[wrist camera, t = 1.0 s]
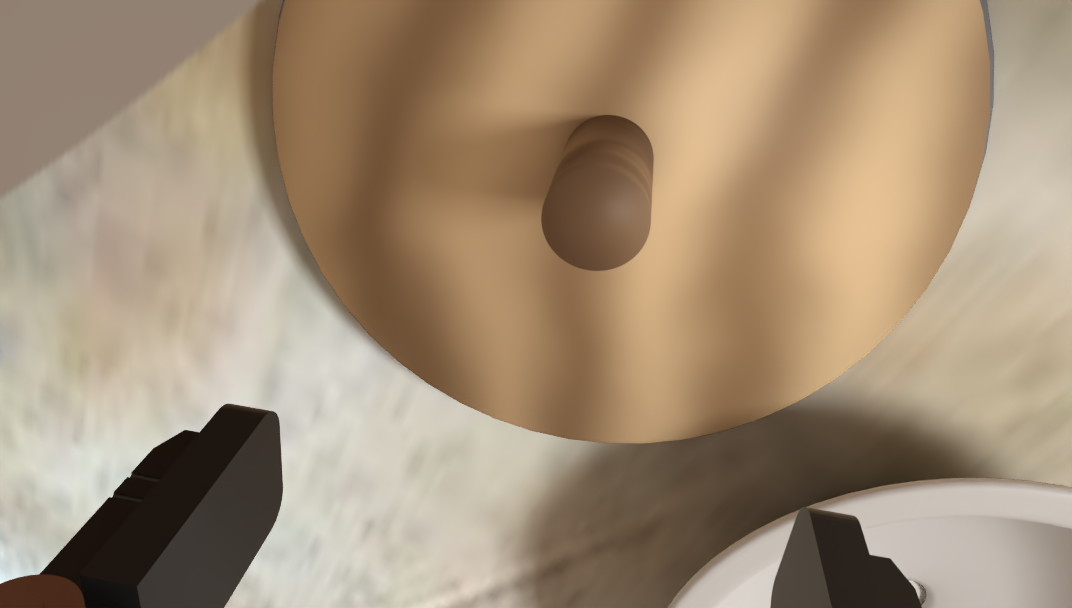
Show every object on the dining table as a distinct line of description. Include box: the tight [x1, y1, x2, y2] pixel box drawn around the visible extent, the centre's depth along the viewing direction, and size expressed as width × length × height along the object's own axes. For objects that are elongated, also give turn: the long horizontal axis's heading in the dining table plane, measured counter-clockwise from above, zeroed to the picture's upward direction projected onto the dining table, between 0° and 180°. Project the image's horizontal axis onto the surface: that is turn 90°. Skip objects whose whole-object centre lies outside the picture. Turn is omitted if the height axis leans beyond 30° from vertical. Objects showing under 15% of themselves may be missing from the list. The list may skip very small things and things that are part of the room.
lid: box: [273, 0, 990, 443], centre depth 27 cm, size 25×25×7 cm
